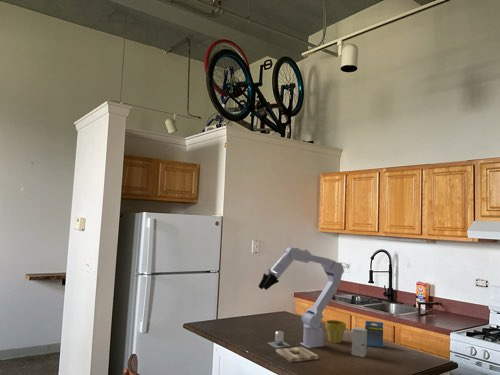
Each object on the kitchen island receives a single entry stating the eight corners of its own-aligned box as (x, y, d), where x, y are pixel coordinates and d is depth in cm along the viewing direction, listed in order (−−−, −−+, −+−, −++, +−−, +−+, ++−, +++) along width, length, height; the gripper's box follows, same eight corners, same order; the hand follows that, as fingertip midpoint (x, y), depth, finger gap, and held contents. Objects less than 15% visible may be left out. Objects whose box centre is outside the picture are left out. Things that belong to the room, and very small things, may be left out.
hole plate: (301, 349, 199) (301, 346, 199) (318, 358, 186) (318, 355, 187) (275, 352, 194) (275, 349, 194) (290, 362, 181) (290, 358, 181)
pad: (282, 342, 211) (282, 341, 211) (291, 347, 203) (291, 346, 203) (266, 343, 208) (266, 342, 208) (275, 348, 200) (275, 347, 200)
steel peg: (280, 342, 208) (281, 330, 209) (284, 345, 205) (284, 332, 205) (273, 343, 207) (273, 331, 207) (277, 345, 203) (277, 333, 203)
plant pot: (345, 345, 210) (346, 325, 211) (324, 343, 213) (325, 323, 213) (345, 339, 221) (345, 320, 221) (325, 338, 223) (325, 319, 224)
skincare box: (351, 355, 194) (351, 328, 195) (353, 352, 198) (354, 326, 199) (364, 357, 191) (364, 330, 192) (367, 355, 195) (367, 328, 196)
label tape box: (382, 345, 212) (383, 320, 214) (383, 347, 209) (383, 322, 210) (364, 343, 215) (365, 319, 216) (364, 345, 211) (365, 320, 212)
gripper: (269, 261, 211) (252, 281, 206) (279, 260, 197) (260, 282, 193) (279, 271, 211) (262, 291, 207) (289, 271, 197) (271, 293, 193)
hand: (262, 288), depth 200 cm, fingers open, 7 cm apart
